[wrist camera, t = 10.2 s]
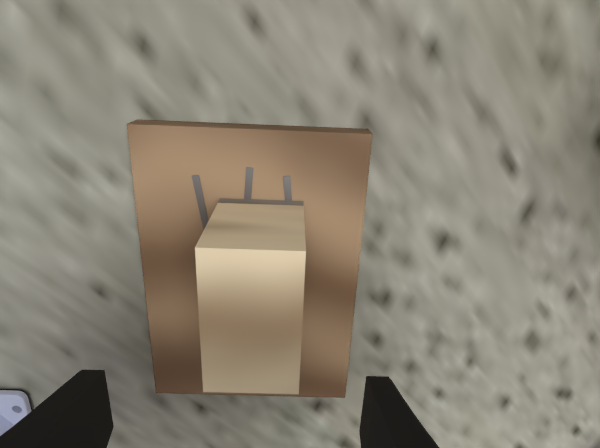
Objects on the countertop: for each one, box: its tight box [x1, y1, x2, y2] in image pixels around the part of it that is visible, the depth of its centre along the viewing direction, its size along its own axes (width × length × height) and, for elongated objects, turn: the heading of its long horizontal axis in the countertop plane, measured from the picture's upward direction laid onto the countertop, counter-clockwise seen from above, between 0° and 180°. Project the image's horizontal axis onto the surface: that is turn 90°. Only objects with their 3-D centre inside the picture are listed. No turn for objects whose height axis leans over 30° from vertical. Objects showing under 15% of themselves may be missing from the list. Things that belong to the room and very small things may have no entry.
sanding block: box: [195, 198, 306, 394], centre depth 17 cm, size 6×4×5 cm, turn 178°
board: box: [127, 120, 373, 398], centre depth 21 cm, size 14×10×1 cm
